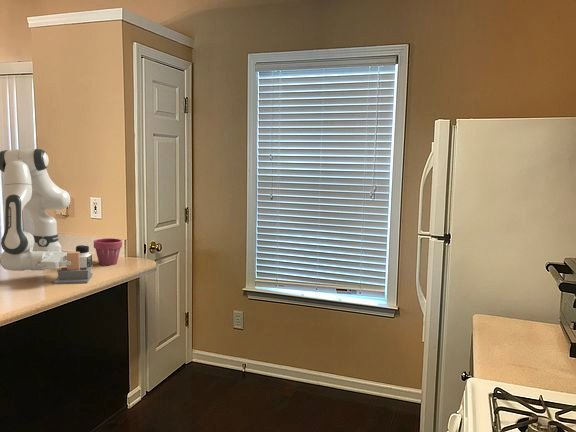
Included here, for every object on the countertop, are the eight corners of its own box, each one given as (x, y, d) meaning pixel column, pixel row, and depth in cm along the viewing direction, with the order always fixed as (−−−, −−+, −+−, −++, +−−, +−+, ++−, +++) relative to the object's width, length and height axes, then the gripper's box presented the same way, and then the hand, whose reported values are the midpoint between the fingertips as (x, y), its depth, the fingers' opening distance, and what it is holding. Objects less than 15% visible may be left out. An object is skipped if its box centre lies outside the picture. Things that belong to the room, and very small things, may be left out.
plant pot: (123, 260, 256) (123, 237, 254) (121, 266, 243) (121, 242, 241) (95, 260, 252) (95, 238, 250) (92, 267, 239) (91, 243, 237)
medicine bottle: (87, 270, 232) (86, 247, 230) (72, 270, 231) (72, 246, 230) (92, 267, 239) (91, 244, 237) (78, 266, 238) (77, 244, 237)
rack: (61, 275, 220) (61, 265, 219) (92, 275, 223) (92, 265, 223) (53, 283, 206) (53, 273, 206) (87, 283, 210) (86, 272, 209)
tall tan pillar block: (68, 276, 216) (68, 251, 214) (80, 276, 217) (79, 251, 215) (67, 278, 213) (66, 253, 211) (78, 278, 214) (78, 253, 212)
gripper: (33, 259, 200) (68, 258, 203) (46, 249, 220) (77, 249, 223) (34, 273, 201) (68, 272, 204) (46, 262, 220) (77, 261, 224)
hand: (73, 260), depth 214 cm, fingers open, 8 cm apart
